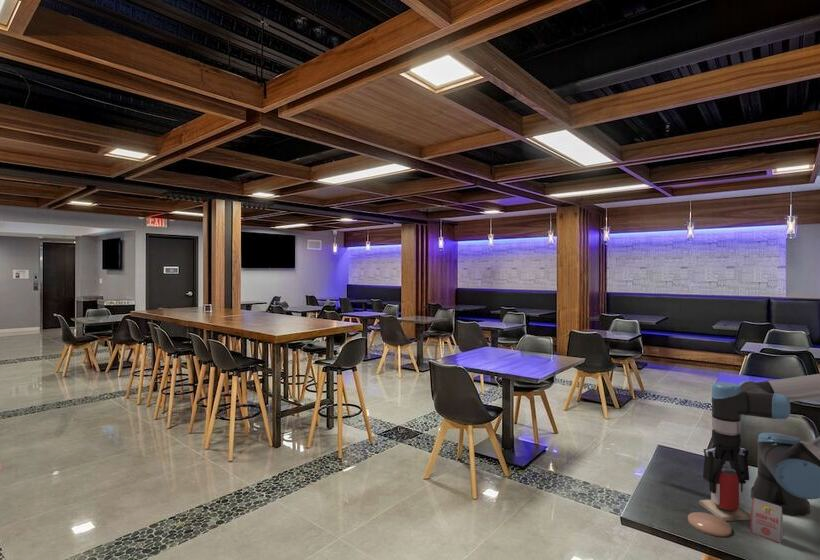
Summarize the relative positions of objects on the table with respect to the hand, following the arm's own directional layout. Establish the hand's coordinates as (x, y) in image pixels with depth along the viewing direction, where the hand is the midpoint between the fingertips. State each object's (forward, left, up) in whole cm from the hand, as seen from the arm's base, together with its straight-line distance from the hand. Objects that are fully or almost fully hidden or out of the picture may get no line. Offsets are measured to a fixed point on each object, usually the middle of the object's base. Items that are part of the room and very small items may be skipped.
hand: (726, 501), depth 140 cm
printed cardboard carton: (-2, +13, -4) cm, 13 cm away
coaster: (+11, +7, -3) cm, 14 cm away
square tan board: (0, 0, -3) cm, 3 cm away
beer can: (0, 0, -2) cm, 2 cm away
